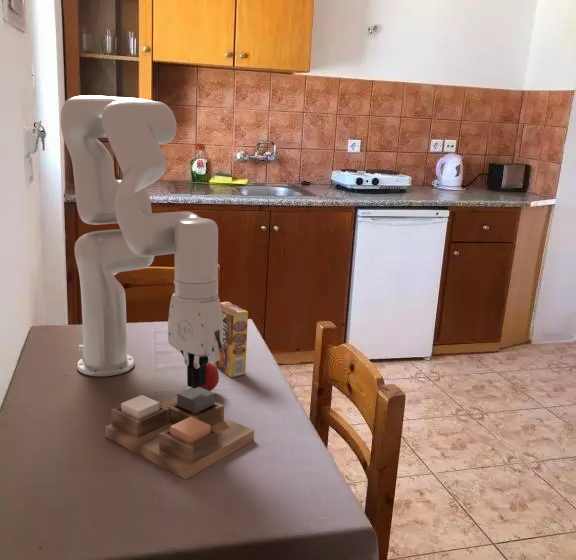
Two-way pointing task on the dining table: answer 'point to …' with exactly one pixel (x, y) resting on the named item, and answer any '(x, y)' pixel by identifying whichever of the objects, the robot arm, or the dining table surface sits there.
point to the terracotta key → (190, 430)
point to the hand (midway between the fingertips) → (196, 385)
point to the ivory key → (140, 407)
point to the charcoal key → (195, 399)
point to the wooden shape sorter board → (171, 451)
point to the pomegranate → (211, 377)
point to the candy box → (233, 340)
